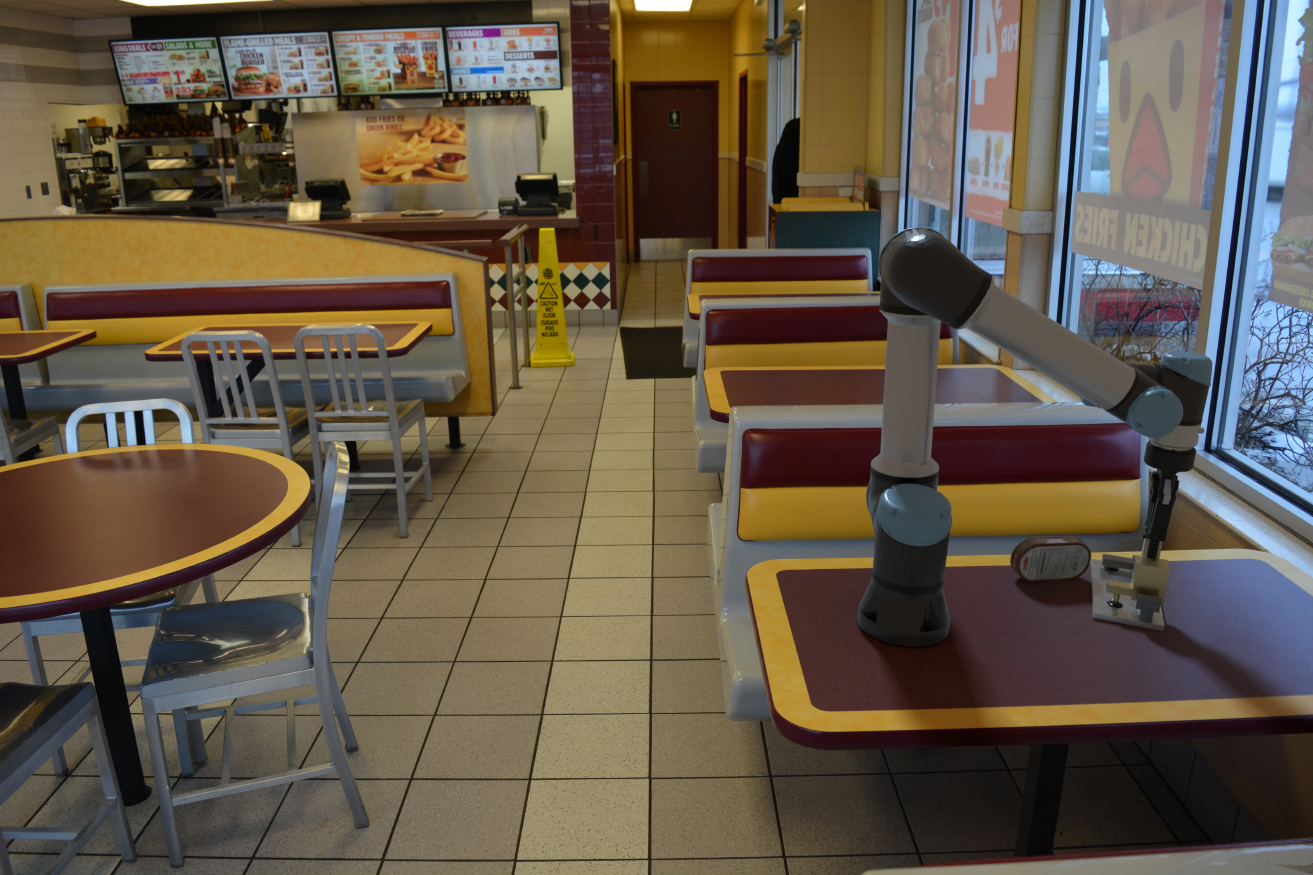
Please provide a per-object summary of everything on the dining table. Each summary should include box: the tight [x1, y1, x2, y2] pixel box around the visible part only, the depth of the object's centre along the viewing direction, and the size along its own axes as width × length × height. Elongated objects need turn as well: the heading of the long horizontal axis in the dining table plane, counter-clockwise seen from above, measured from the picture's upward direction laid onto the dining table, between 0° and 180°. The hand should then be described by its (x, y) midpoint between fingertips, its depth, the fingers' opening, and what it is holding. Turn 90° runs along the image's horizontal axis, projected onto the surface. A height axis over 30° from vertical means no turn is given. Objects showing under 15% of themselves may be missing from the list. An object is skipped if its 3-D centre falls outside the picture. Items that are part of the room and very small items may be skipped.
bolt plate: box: [1090, 558, 1166, 632], centre depth 174 cm, size 11×24×1 cm, turn 158°
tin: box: [1009, 535, 1092, 583], centre depth 179 cm, size 15×3×8 cm, turn 97°
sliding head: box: [1106, 554, 1171, 607], centre depth 166 cm, size 9×4×9 cm, turn 68°
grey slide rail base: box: [1101, 553, 1162, 624], centre depth 173 cm, size 8×24×5 cm, turn 158°
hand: (1147, 571), depth 168 cm, fingers closed
